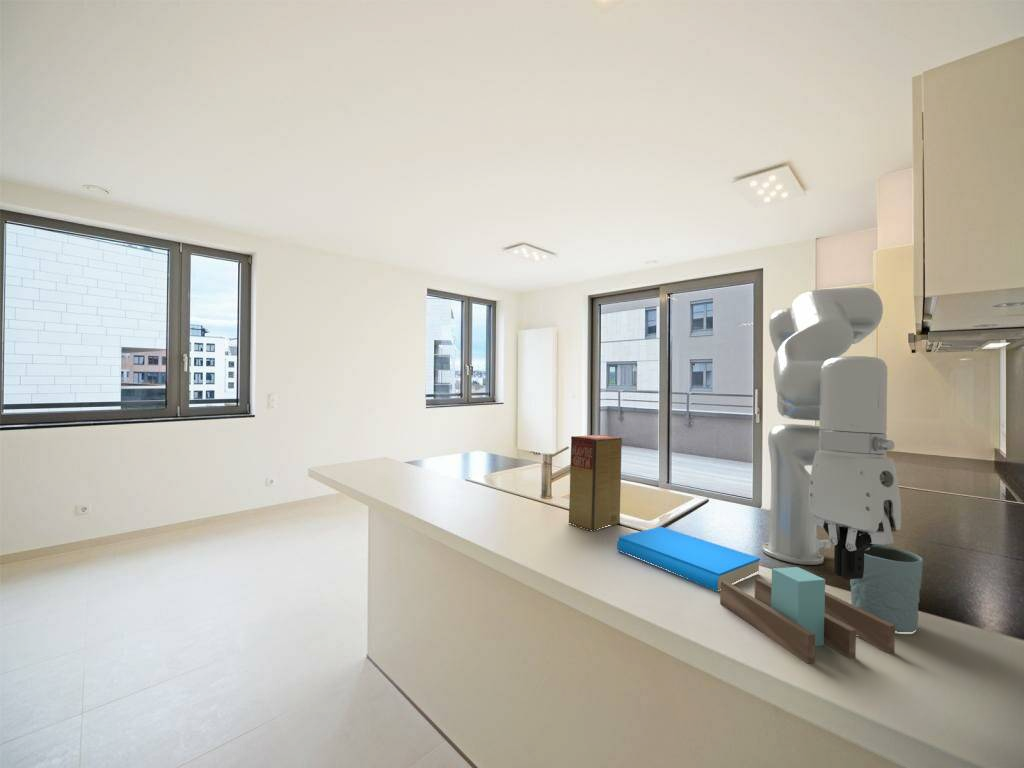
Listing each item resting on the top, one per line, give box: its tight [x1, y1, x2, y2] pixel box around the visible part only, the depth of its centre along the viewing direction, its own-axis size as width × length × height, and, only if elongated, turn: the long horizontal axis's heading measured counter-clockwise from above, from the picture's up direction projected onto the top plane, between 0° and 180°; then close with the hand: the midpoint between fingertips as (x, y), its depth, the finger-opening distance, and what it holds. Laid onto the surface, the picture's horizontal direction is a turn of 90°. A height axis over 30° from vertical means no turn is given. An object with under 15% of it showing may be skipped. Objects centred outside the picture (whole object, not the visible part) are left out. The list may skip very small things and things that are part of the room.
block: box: [771, 566, 826, 647], centre depth 70 cm, size 5×5×10 cm
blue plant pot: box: [849, 544, 924, 632], centre depth 77 cm, size 10×10×12 cm
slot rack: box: [719, 578, 896, 664], centre depth 74 cm, size 16×18×4 cm
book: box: [616, 526, 761, 592], centre depth 100 cm, size 17×4×25 cm
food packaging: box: [568, 434, 623, 532], centre depth 128 cm, size 13×9×25 cm
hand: (848, 576), depth 62 cm, fingers closed
